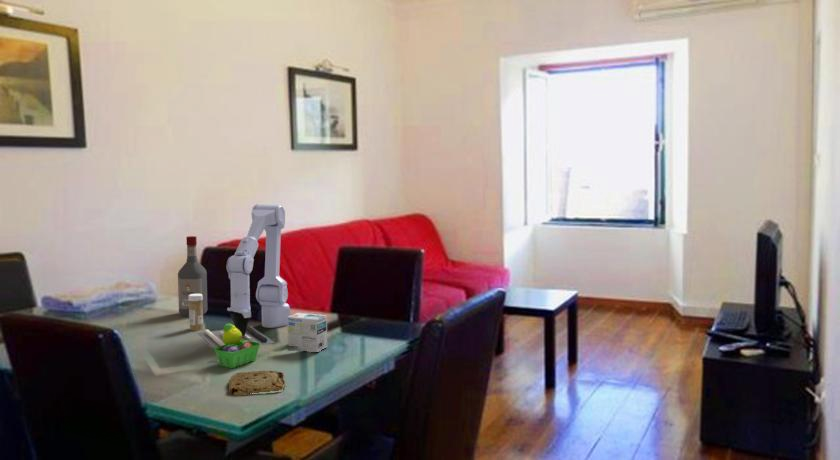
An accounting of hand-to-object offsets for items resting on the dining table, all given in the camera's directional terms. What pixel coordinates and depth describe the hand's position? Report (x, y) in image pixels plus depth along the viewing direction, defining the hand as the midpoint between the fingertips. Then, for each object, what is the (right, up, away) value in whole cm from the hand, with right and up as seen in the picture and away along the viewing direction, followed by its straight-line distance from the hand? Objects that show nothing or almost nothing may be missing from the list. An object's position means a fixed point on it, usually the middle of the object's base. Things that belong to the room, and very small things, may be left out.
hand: (240, 335), depth 197 cm
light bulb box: (+21, -4, -1) cm, 22 cm away
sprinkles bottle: (-20, -2, +16) cm, 26 cm away
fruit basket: (+3, -5, -15) cm, 16 cm away
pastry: (+14, -8, -34) cm, 38 cm away
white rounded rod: (-9, -2, +2) cm, 9 cm away
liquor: (-31, +1, +44) cm, 54 cm away
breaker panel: (-3, -3, +5) cm, 7 cm away
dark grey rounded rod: (+2, -1, +9) cm, 9 cm away
